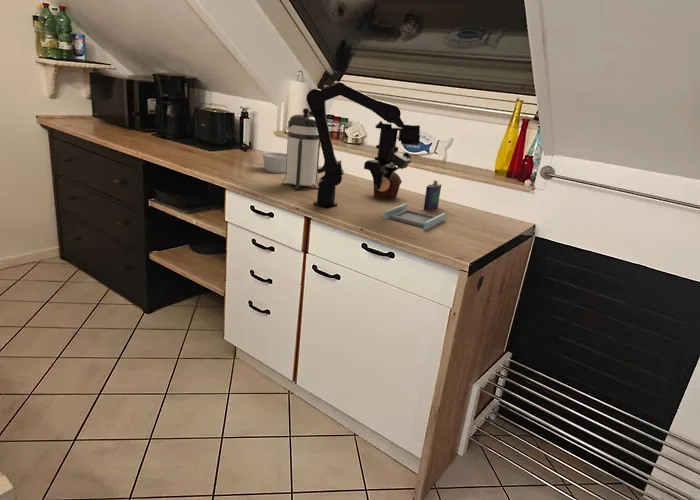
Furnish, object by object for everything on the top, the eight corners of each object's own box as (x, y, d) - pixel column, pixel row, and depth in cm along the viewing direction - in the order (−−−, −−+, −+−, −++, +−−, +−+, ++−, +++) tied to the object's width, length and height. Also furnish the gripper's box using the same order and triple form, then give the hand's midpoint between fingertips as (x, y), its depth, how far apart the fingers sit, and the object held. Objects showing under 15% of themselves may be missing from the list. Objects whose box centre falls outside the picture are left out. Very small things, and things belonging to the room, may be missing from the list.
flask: (433, 205, 189) (437, 178, 185) (440, 207, 187) (444, 179, 183) (421, 209, 182) (426, 181, 178) (428, 211, 180) (433, 182, 176)
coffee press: (316, 193, 188) (323, 112, 177) (276, 187, 190) (280, 107, 180) (327, 184, 204) (334, 109, 193) (290, 178, 206) (295, 104, 196)
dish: (423, 227, 160) (423, 224, 160) (390, 218, 166) (391, 215, 166) (437, 220, 170) (437, 216, 170) (406, 212, 176) (406, 209, 175)
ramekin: (295, 169, 225) (296, 154, 222) (288, 175, 212) (289, 159, 210) (266, 166, 226) (267, 151, 223) (258, 171, 213) (259, 155, 211)
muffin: (390, 202, 187) (394, 176, 184) (365, 195, 192) (368, 170, 189) (404, 197, 197) (407, 172, 193) (380, 191, 202) (383, 167, 198)
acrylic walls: (425, 230, 158) (427, 222, 157) (383, 218, 165) (384, 211, 164) (444, 220, 171) (445, 213, 170) (404, 210, 178) (405, 203, 177)
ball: (384, 193, 169) (386, 179, 167) (371, 190, 171) (373, 176, 170) (391, 191, 173) (393, 177, 171) (378, 188, 175) (380, 174, 174)
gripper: (396, 149, 155) (389, 197, 160) (420, 144, 170) (414, 188, 176) (365, 143, 160) (360, 190, 166) (392, 139, 175) (386, 182, 181)
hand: (381, 188), depth 172 cm, fingers closed on ball, 5 cm apart
